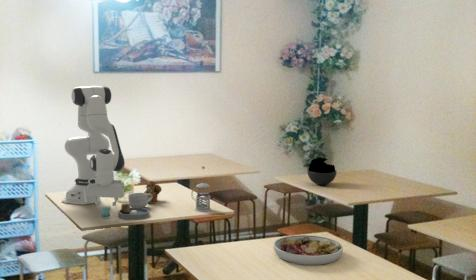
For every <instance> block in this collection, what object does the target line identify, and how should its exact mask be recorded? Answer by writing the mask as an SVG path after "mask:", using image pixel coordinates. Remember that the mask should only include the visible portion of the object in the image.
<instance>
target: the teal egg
mask: <svg viewBox="0 0 476 280" xmlns="http://www.w3.org/2000/svg"><path fill="white" fill-rule="evenodd" d="M109 216H110V217H111V207H110V206H102V207H101V218H103V217H108V218H110V217H109Z"/></svg>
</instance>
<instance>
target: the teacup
mask: <svg viewBox="0 0 476 280" xmlns="http://www.w3.org/2000/svg"><path fill="white" fill-rule="evenodd" d="M149 195H150V196H151V198H150V199H149V200H148V201H147V198H148V196H149ZM127 196H128V204H130V207H141V208H146V206H147V205H148V204H149V203H148V202H149V201H151V200H152V197H153V196H152V194H147V193H144V192H133V193H132V192H131V193H129V194H128V195H127Z"/></svg>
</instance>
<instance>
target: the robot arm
mask: <svg viewBox="0 0 476 280" xmlns="http://www.w3.org/2000/svg"><path fill="white" fill-rule="evenodd" d="M111 100H112V91H111V89H110V88H109V87H108V86H104V85H102V86H99V85H90V86H89V85H87V86H86V85H85V86H77V87H73V89H72V92H71V101H72V103H73V104H74V105H75V106H78V109H77V127H78V128H79V129H80V130H81V131H83V132H85V133H87V136H74V137H70V138H67V139H66V140H65V142H64V150H65V152H66V154H67V155H69V156H70V157H72V159H73V160H74V161H75V163H76V166H77V175H78V176H77V178H75V180H74V181H73V182H75V184H73V186H71V187H70V188H69V189H68V190H67V191H66V192H65V197H64V198H63V199H61V203H63V204H64V203H65V204H72V205H73V204H74V205H90V204H95V205H96V206H99V205H100V202H101V200H102V199H101V198H111V199H112V198H114V199H113V200H114V201H112V207H113V206H114V207H116V206H117V202H118V200H119V199H122V198H124V197H125V182H124V181H122V180H121V179H120V180H117V179H115V178H114V177H115V174H114V172H121V170H122V169H123V168H124V167H125V164H126V162H125V158H124V155H123V152H122V148H121V145H120V141H119V138H118V134H117V129H116V127H115V126H114V124H112V123H111V122H110V120H109V117H108V109H107V106H106V105H107V104H110V103H111ZM104 135H105V136H104ZM110 147H111V150H110ZM90 155H92V156H91V157H90V158H89V159H88V156H90Z"/></svg>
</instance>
